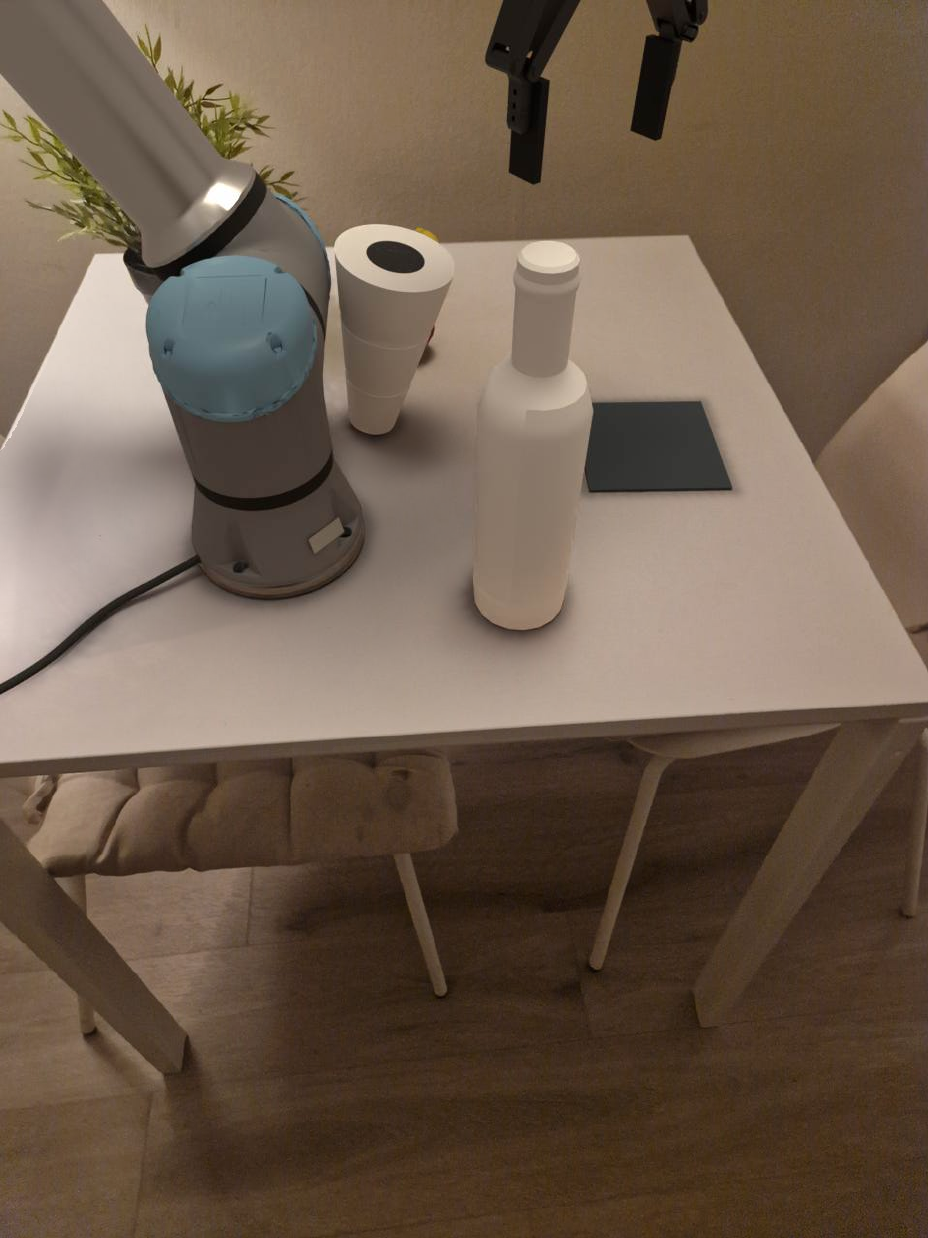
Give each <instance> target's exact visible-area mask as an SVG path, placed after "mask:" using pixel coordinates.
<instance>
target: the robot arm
mask: <svg viewBox="0 0 928 1238" xmlns="http://www.w3.org/2000/svg"><path fill="white" fill-rule="evenodd" d="M581 1H582V0H502V2H501V5H500V8H499V11H498V14H497V18H496V21H495V24H494V27H493V30H492V33H491V35H490V39H489V42H488V45H487V48H486V51H485V56H484V61H485V65H486V66H487V67H488V68H491V69H494V70H496V71H499V72H501V73H504V74H506V76H507V79H508V84H507V85H508V86H507V106H506V125H507V126H506V127H507V129H509V130H510V141H509V142H510V143H509V159H508V174H510V175H512V176H515V177H516V178H519V179H520V180H522V181H524V182H526V183H528V184H531V185H533V186H535V185H537V184H540V183H541V182H542V171H543V162H544V161H543V160H544V152H545V151H544V149H545V138H546V129H547V117H548V108H549V95H550V85H551V80H550V79H548V78H545V77H543V76H542V74H543V73H544V70H546V67H547V65H548V63H549V61H550V59H551V57H552V55H553V54H554V52H555V50H556V48H557V47H558V44H559V42H560V41H561V38H562V36H563V34H564V32H565V31H566V29H567V27H568V26H569V24H570V21H571V19H572V17H573V16H574V14H575V12H576V10H577V8H578V7H579V4H580V3H581ZM645 1H646V5H647V8H648V11H649V14H650V17H651V20H652V24H653V26H654V29H655V31H656V32H657V33H658V34H657V35H656V34H654V33H651V34H647V35H645V40H644V46H643V51H642V57H641V58H642V59H641V65H640V70H639V75H638V81H637V87H636V94H635V100H634V106H633V112H632V117H631V124H630V130H629V131H630V132H633V133H635V134H637V135H639V136H642V137H645V138H646V139H649V140H652V141H654V142H657V141H659V140H662V138H663V133H664V127H665V123H666V117H667V112H668V108H669V101H670V96H671V92H672V87H673V85H674V82H675V81H676V77H677V71H678V70H677V69H678V66H679V65H678V63H679V60H680V57H681V56H680V55H681V52H682V51H681V50H682V45H683V41H684V42H687V43H690V44H691V43H693V42H694V41H695V40H696V38H697V37H698V34H699V30H700V27H699V26H702V25H703V24H704V23H705V22H706V20H707V18H708V14H709V3H708V2H709V0H645ZM507 48H508V49H507ZM530 53H531V55H530V57H528V55H529V54H530ZM0 76H1V77H3V79H4V80H5V81H6V82H7V84H8V85H9V86H11V88H12V89H13V90H14V91H15V93H17V94H18V96H19V97H20V98H21V99H22V100H23V101H24V102H25V104H26V105H27V106H28V107H30V109H31V110H32V111H33V112H34V113H35V114H36V116H37V117H38V118H39V119H40V120H41V121H42V122H43V123H44V124H45V126H46V127H47V128H48V129H49V130H50V132H52V134H53V135H54V136H55V137H56V138H57V139H58V140H59V141H60V142H61V144H62V145H63V146H64V147H65V148H66V150H68V151H69V152H70V154H71V155H73V157H74V158H75V159H76V160H77V161H78V162H79V164H80V165H81V166H82V167H83V168H84V169H85V171H87V172H88V174H90V176H91V177H92V178H93V179H94V180H95V181H96V182H97V184H99V186H101V188H102V189H103V190H104V191H105V193H106V194H107V195H108V196H109V197H110V198H111V199H112V200H113V201H114V203H115V204H116V205H117V206H118V207H119V208H120V209H121V210H122V212H124V214H125V215H126V216H127V217H128V218H129V219H130V220H131V222H132V223H133V224H134V225H135V226H136V227H137V229H138V231H139V232H140V236H141V258H142V259H141V260H142V262H143V263H144V265H145V266H147V267H148V269H149V270H150V271H151V272H152V273H153V274H154V275H155V276H156V277H157V278H158V280H159V281H160V282H161V284H160V285H159V286H158V288H157V289H156V291H155V292H154V294H153V295H152V297H151V299H150V301H149V303H148V306H147V308H146V313H145V322H144V323H145V324H144V325H145V326H144V328H145V335H146V340H147V343H148V355H149V358H150V360H151V364H152V365H151V366H152V371H153V373H154V375H155V376H156V380H157V382H158V383H159V384H160V387H161V390H162V394H163V396H164V399H165V401H166V404H167V408H168V410H169V414H170V416H171V419H172V421H173V425H174V428H175V431H176V434H177V437H178V439H179V442H180V445H181V448H182V451H183V454H184V457H185V459H186V462H187V466H188V469H189V471H190V473H191V477H192V480H193V483H194V493H193V505H192V515H191V516H192V518H191V529H190V531H191V545H192V548H193V550H194V553H195V555H193V556H192V557H190V558H188V559H186V560H184V561H182V562H180V563H179V564H177V565H175V566H174V567H172V568H170V569H167V570H166V571H164V572H162V573H161V574H158V575H157V576H155V577H152V578H151V579H150V580H148V581H146V582H143V583H142V584H139V585H138V586H136V587H134V588H132V589H130V590H129V591H127V592H125V593H123V594H121V595H120V596H117V597H116V598H114V599H113V600H112V601H110V602H109V603H107V604H106V605H104V606H102V607H101V608H100V609H98V610H97V611H95V612H94V613H93V614H92V615H91V616H90V617H88V618H87V619H86V620H85V621H83V622H82V623H81V624H80V625H79V626H78V627H77V628H76V629H75V630H74V631H72V632H71V633H70V634H69V635H68V636H67V637H66V638H65V639H63V641H61V642H60V643H59V644H58V645H56V646H55V647H54V648H53V649H52V650H50V651H49V652H48V653H47V654H46V655H44V656H43V657H42V658H40V659H38V661H36V662H34V663H33V664H31V665H30V666H28V667H27V668H25V669H24V670H22V671H20V672H19V673H17V674H15V675H14V676H12V677H10V678H9V679H7V680H4V681H3V682H1V683H0V696H1V695H3V694H5V693H6V692H9V691H10V690H12V689H14V688H16V687H18V686H19V685H20V684H23V683H24V682H25V681H28V680H29V679H30V678H32V677H33V676H35V675H37V674H38V673H39V672H41V671H42V670H45V669H46V668H47V667H49V666H50V665H51V664H52V663H53V662H55V661H56V660H57V659H59V658H60V657H61V656H62V655H64V654H65V653H67V651H68V650H69V649H71V648H72V647H73V646H74V645H75V644H76V643H77V642H78V641H79V640H81V638H83V637H84V636H85V635H86V634H87V633H88V632H89V631H90V630H91V629H93V627H95V626H96V625H97V624H99V622H102V620H104V619H105V618H107V616H109V615H111V614H112V613H113V612H115V611H116V610H118V609H119V608H120V607H122V606H124V605H125V604H127V603H128V602H130V601H133V600H134V599H136V598H138V597H141V595H144V594H146V593H147V592H149V591H151V590H153V589H155V588H157V587H159V586H160V585H162V584H164V583H166V582H168V581H170V580H171V579H174V578H175V577H177V576H178V575H181V574H182V573H184V572H186V571H189V569H192V568H193V567H195V566H198V565H200V567H201V570H202V571H203V572H204V574H205V575H206V576H207V577H208V578H209V579H210V580H211V581H212V582H213V583H215V584H217V586H219V587H221V588H222V589H225V590H227V591H229V592H231V593H233V594H237V595H239V596H244V597H249V598H256V599H283V598H289V597H294V596H298V595H303V594H306V593H309V592H311V591H314V590H317V589H319V588H321V587H323V586H325V585H327V584H328V583H330V582H332V581H333V580H335V579H336V578H338V577H339V576H340V575H341V574H343V573H344V572H345V571H346V570H347V569H348V568H349V567H351V565H352V564H353V562H355V560H356V559H357V557H358V555H359V553H360V551H361V549H362V546H363V544H364V539H365V523H364V521H365V520H364V516H363V515H364V514H363V508H362V506H361V502H360V501H359V498H358V496H357V495H356V492H355V491H354V489H353V488H352V486H351V484H350V483H349V481H348V479H347V477H346V476H345V474H344V472H343V471H342V469H341V468H340V466H339V464H338V463H337V461H336V459H335V457H334V453H333V445H332V437H331V430H330V425H329V419H328V412H327V405H326V399H325V388H324V362H325V348H326V347H325V346H326V338H327V337H326V336H327V329H328V327H327V326H328V316H329V305H330V299H331V290H332V273H331V265H330V261H329V257H328V253H327V249H326V244H325V242H324V239H323V238H322V235H321V233H320V231H319V229H318V228H317V226H316V223H314V221H313V220H312V219H311V217H310V216H309V215H308V214H307V212H306V211H305V210H303V208H302V207H300V206H299V205H298V204H297V203H296V202H295V201H293V200H291V199H290V198H288V197H286V196H285V195H284V194H281V193H275V192H272V191H271V189H270V188H269V187H268V185H267V184H266V183H265V181H264V180H263V179H262V177H261V176H260V175H259V172H257V170H256V169H255V168H254V167H253V166H252V164H251V163H248V162H244V161H239V160H232V159H227V158H226V157H223V156H221V155H220V153H219V152H218V151H217V150H216V147H214V145H213V143H211V141H210V140H209V139H208V137H207V136H206V135H205V133H204V132H203V131H202V129H201V128H200V127H199V126H198V124H197V123H196V121H195V119H193V118H192V116H191V115H190V114H189V113H188V111H187V109H185V107H184V106H183V104H182V103H181V102H180V101H179V99H178V98H177V96H176V95H175V94H174V92H173V91H172V90H171V89H170V87H169V86H168V85H167V83H166V82H165V81H164V79H163V78H162V77H161V75H160V74H159V73H158V71H157V69H155V67H154V66H153V64H152V63H151V62H150V60H149V59H148V58H147V57H146V55H145V54H144V52H143V51H142V50H141V49H140V47H139V46H138V45H137V44H136V42H135V41H134V39H132V37H131V36H130V34H129V33H128V32H127V31H126V29H125V27H124V26H123V25H122V24H121V22H120V21H119V20H118V18H117V17H116V16H115V14H113V12H112V11H111V9H110V7H108V5H107V4H106V3H105V1H104V0H0Z"/></svg>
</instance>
